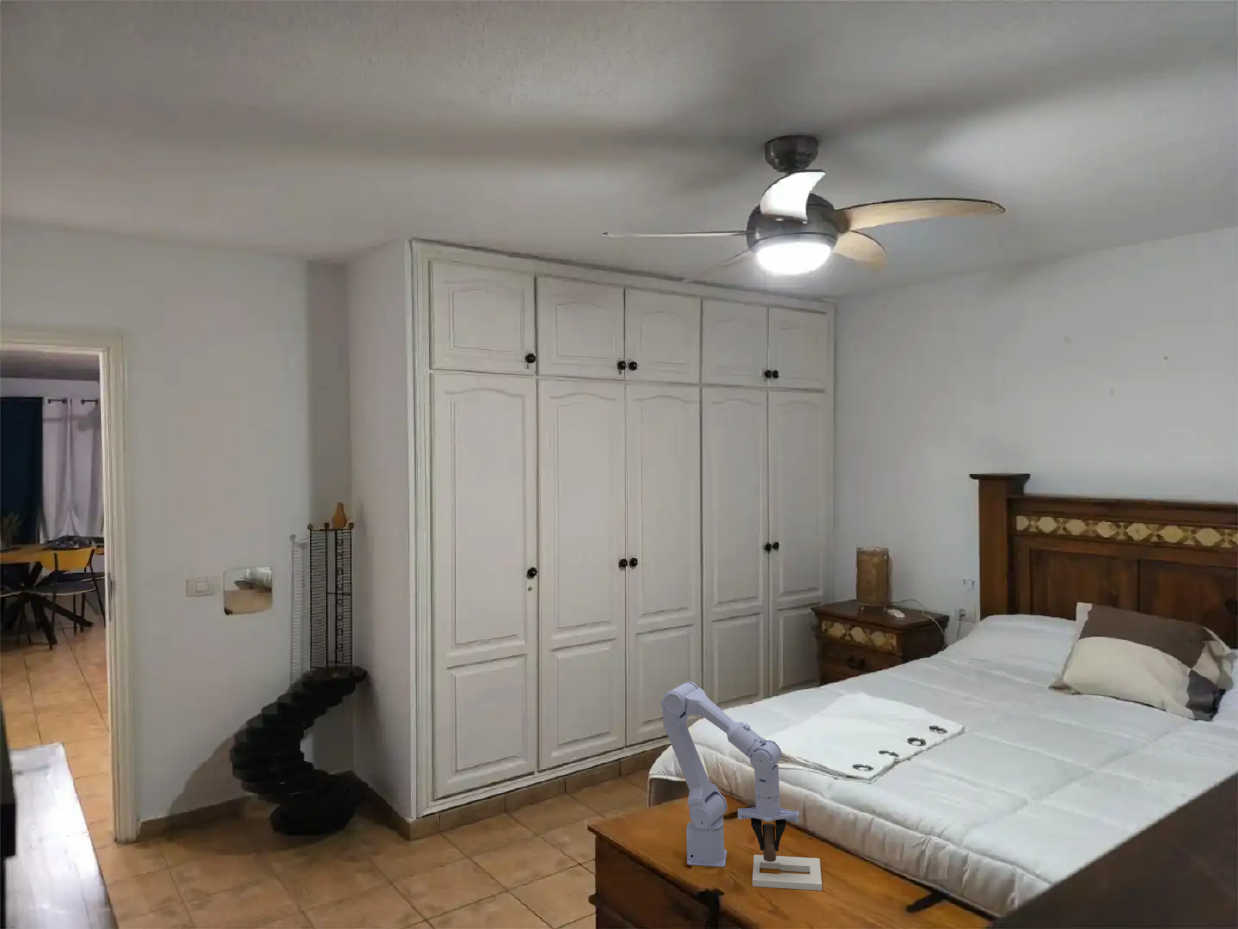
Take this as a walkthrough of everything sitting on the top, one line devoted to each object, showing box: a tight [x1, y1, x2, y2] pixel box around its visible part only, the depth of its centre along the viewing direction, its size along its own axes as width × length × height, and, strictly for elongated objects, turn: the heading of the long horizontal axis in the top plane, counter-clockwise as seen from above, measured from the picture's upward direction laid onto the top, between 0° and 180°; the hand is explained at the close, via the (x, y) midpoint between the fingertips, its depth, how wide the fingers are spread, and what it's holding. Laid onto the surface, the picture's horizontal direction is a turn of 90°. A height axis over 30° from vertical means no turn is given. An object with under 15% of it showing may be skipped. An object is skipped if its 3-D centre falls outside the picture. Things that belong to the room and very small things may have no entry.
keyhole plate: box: [752, 854, 823, 892], centre depth 202 cm, size 16×12×2 cm
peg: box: [762, 822, 777, 862], centre depth 203 cm, size 3×3×8 cm
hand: (769, 849), depth 203 cm, fingers closed on peg, 3 cm apart
